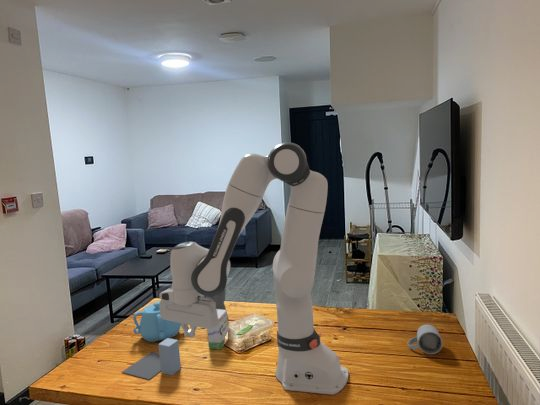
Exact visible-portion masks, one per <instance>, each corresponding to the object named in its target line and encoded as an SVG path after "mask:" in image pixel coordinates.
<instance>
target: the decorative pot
mask: <svg viewBox="0 0 540 405" xmlns="http://www.w3.org/2000/svg"><path fill="white" fill-rule="evenodd" d="M160 301H161V300H159V301H155V302H154V303H151V304H150V305H147V306H145V307H144V309H143V311H142V310H139V311H137V312H135V313H134V315H133V323H134V325H135V327H134V328H133V333H134V334H136V335H139V334H140V336H141V337H142V338H143V339H144V340H145V341H148V342H150V343H155V342H157V341H164V340H165V339H167V338H170V339H174V337H175V336H176V335H178V334H179V332H180V330H181V323H178V322H173V321H168V320H163V319H162V318H161V316H160ZM140 315H141V317H140V321H139V322H138V320H137V316H140Z"/></svg>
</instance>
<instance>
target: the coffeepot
mask: <svg viewBox="0 0 540 405" xmlns="http://www.w3.org/2000/svg"><path fill="white" fill-rule="evenodd" d="M226 289H227V285H226V286H225V288H224V290H223V291H222V292H221V293H219V294H218V295H215V296H204V297H206V298H211V299H212V300H213V301H214V302H215V303H216V309H221V310H227V308H226V305H225V301H226ZM227 319H228V320H229V315H228V314H227Z"/></svg>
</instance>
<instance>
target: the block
mask: <svg viewBox="0 0 540 405" xmlns="http://www.w3.org/2000/svg"><path fill="white" fill-rule="evenodd" d="M158 353H159V356H160V365H161V372H160V373H161V374H165V375H169V376H174V374H177V373H178V372H179V371H180V370H181V369H182V366H181V354H180V346H179V340H178V339H174V338H171V339H170V338H167V339H163V340H161V342H160V343H158Z"/></svg>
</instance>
